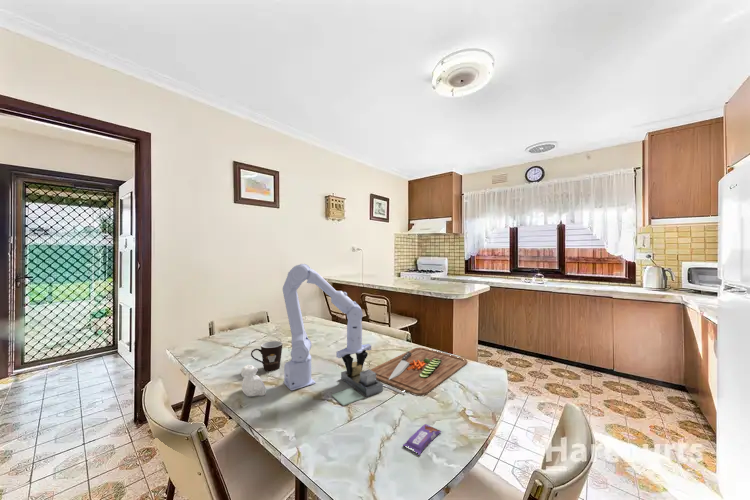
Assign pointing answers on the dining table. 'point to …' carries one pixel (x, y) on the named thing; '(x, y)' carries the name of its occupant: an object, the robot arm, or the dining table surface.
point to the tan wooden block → (356, 369)
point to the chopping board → (418, 370)
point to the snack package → (422, 438)
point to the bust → (252, 382)
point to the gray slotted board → (361, 388)
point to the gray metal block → (367, 378)
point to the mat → (347, 396)
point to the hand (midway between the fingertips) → (354, 372)
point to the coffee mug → (270, 355)
